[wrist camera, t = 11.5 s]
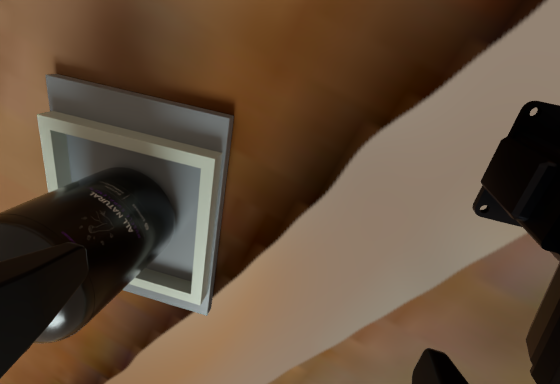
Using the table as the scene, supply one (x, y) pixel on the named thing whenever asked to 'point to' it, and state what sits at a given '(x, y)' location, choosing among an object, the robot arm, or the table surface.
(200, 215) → the coaster tray
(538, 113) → the robot arm
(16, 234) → the supplement bottle
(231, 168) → the table surface
